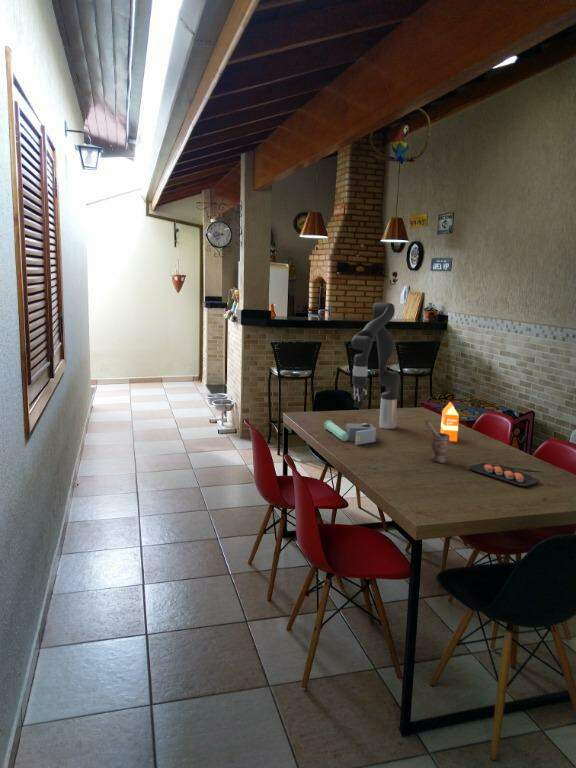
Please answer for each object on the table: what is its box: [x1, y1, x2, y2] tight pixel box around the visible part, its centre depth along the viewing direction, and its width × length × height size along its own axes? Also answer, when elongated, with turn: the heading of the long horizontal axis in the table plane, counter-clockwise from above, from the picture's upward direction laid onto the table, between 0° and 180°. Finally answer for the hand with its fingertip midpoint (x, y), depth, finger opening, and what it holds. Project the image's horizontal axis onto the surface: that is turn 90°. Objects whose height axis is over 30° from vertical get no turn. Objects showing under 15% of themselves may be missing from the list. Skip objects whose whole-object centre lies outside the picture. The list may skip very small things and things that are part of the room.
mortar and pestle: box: [424, 418, 450, 464], centre depth 274 cm, size 12×9×20 cm
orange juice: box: [439, 401, 460, 442], centre depth 314 cm, size 8×9×20 cm
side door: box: [354, 427, 378, 446], centre depth 300 cm, size 14×2×7 cm, turn 126°
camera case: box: [345, 422, 376, 442], centre depth 309 cm, size 14×10×8 cm
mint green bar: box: [323, 420, 349, 442], centre depth 314 cm, size 6×6×25 cm
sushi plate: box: [468, 462, 542, 487], centre depth 261 cm, size 29×30×4 cm
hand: (358, 407), depth 298 cm, fingers open, 2 cm apart
